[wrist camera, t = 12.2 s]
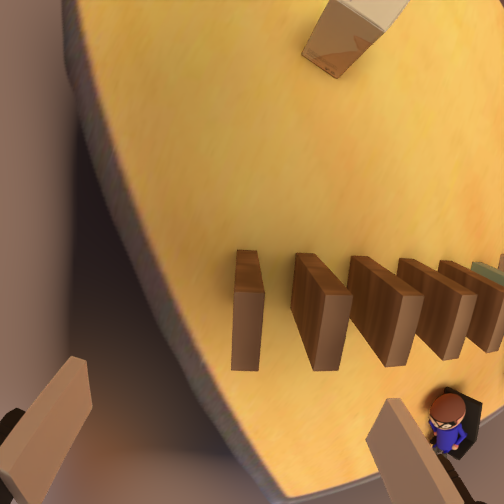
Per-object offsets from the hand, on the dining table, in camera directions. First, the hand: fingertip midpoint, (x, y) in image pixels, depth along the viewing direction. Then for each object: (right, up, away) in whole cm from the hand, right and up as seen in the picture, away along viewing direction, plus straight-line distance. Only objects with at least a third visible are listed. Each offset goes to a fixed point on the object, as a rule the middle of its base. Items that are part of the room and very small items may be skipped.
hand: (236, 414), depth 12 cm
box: (+8, +26, +13) cm, 31 cm away
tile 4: (+16, +3, +19) cm, 25 cm away
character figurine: (+29, -17, +24) cm, 42 cm away
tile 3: (+11, +4, +19) cm, 22 cm away
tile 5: (+22, +3, +19) cm, 29 cm away
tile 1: (0, +4, +18) cm, 19 cm away
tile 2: (+5, +4, +18) cm, 19 cm away
